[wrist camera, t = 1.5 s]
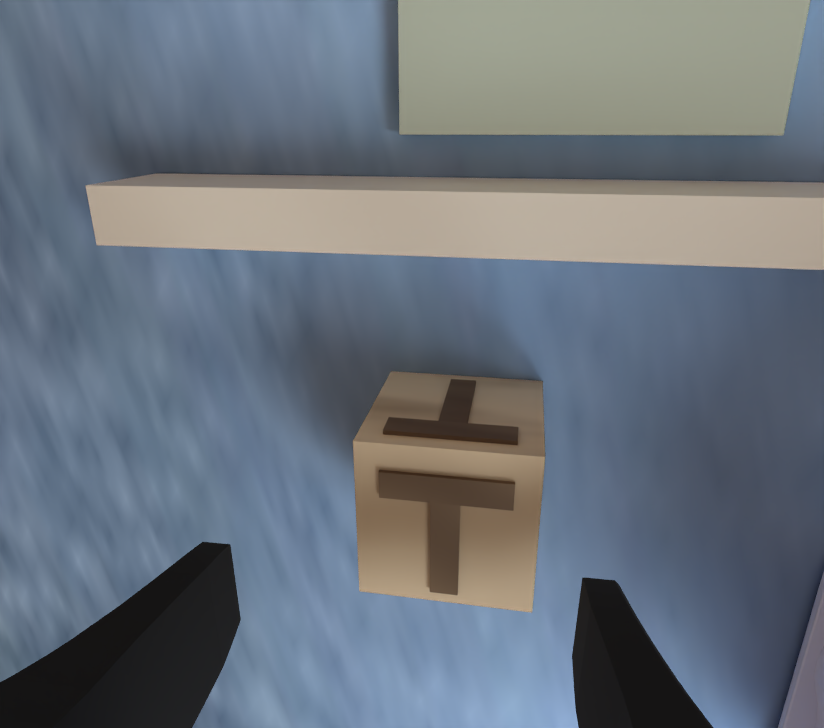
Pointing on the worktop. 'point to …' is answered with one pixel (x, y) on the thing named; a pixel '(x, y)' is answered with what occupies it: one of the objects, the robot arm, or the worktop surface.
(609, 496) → the worktop surface
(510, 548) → the lettered cube
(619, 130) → the pad
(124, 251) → the worktop surface
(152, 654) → the robot arm
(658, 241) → the cream board
